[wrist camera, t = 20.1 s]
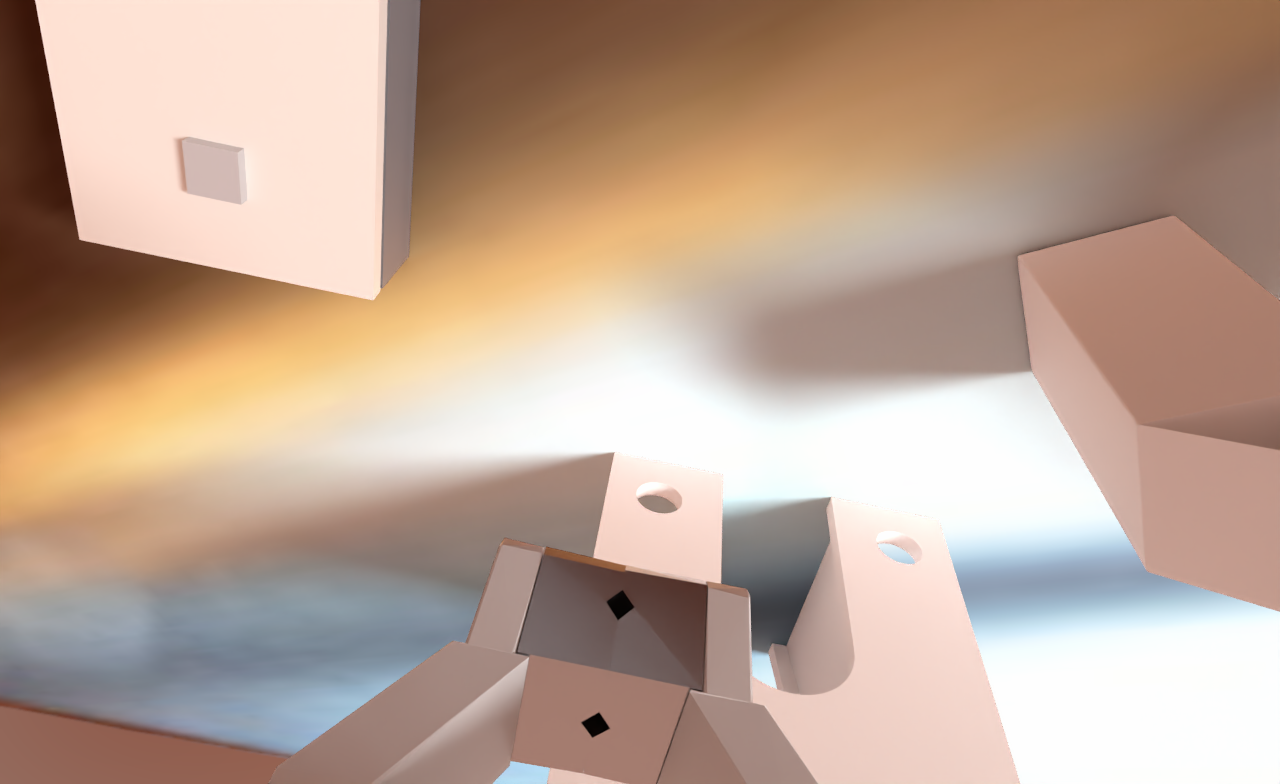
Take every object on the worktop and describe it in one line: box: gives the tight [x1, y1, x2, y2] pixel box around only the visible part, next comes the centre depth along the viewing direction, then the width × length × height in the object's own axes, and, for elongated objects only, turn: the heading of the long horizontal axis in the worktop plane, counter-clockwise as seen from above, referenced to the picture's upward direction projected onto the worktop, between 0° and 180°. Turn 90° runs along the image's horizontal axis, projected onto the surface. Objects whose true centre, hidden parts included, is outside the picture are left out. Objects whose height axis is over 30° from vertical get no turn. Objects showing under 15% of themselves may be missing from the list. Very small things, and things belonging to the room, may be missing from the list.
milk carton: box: [1018, 216, 1280, 611], centre depth 34 cm, size 7×7×19 cm
